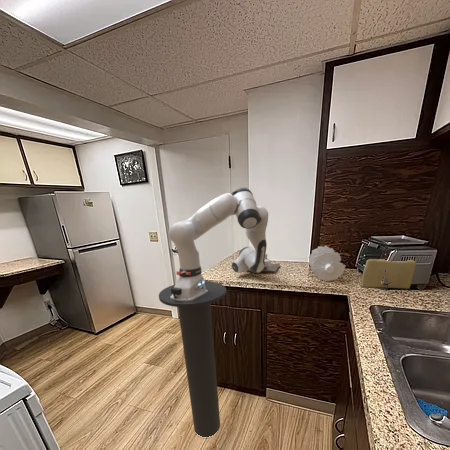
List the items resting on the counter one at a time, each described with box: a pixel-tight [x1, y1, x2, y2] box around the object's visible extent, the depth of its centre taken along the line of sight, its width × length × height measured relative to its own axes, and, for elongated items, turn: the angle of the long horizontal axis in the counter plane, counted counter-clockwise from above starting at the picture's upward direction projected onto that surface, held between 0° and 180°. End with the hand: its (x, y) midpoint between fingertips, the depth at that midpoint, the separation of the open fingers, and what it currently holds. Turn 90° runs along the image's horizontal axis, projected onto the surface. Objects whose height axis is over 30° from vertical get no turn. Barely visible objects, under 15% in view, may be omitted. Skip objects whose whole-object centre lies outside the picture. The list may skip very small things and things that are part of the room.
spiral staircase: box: [308, 245, 346, 282], centre depth 151 cm, size 18×18×25 cm
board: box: [245, 263, 281, 274], centre depth 179 cm, size 20×20×2 cm
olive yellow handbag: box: [360, 258, 417, 290], centre depth 130 cm, size 22×10×15 cm, turn 81°
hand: (264, 259), depth 177 cm, fingers closed on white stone, 5 cm apart
